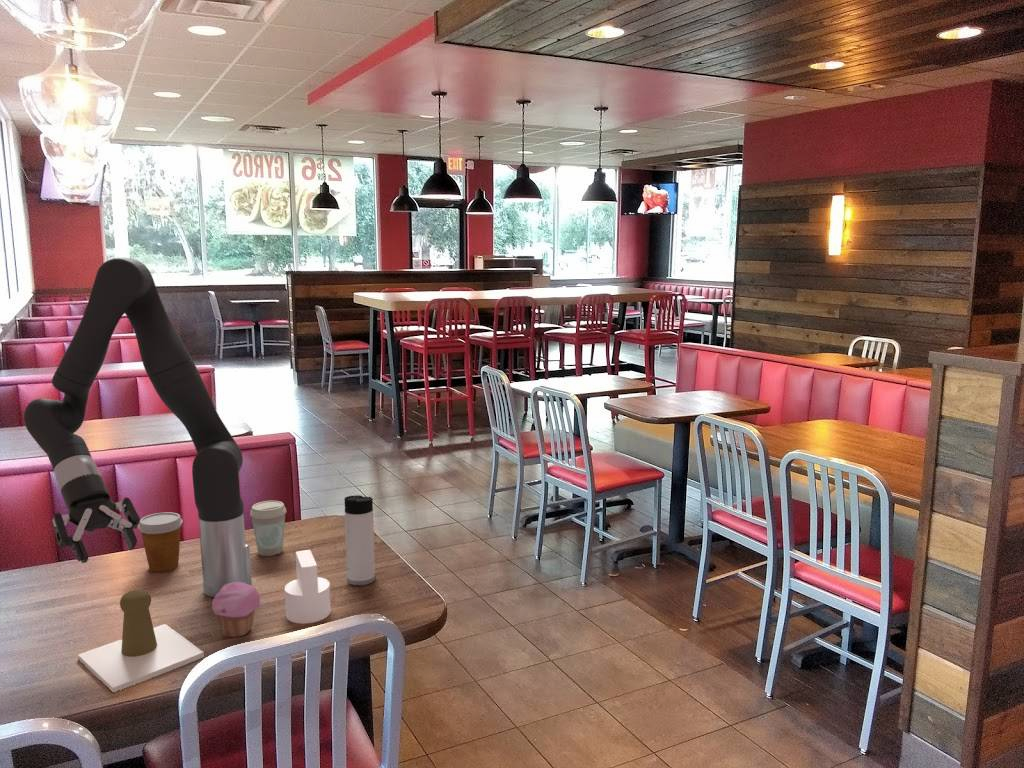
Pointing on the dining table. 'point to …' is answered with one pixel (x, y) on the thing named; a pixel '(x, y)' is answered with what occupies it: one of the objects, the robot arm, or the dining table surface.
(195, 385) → the robot arm
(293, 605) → the cylinder with rectangular tab
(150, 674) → the white mat
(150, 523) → the disposable coffee cup
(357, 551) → the travel mug
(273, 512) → the coffee cup
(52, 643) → the dining table surface
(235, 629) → the cupcake
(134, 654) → the cork
